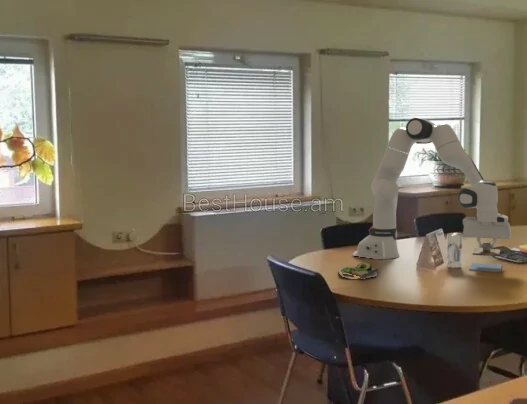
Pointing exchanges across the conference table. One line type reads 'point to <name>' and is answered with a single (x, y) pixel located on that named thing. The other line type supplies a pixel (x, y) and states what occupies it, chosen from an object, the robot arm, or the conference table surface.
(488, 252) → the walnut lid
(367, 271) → the salad plate
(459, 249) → the beer glass
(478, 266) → the slate mat
